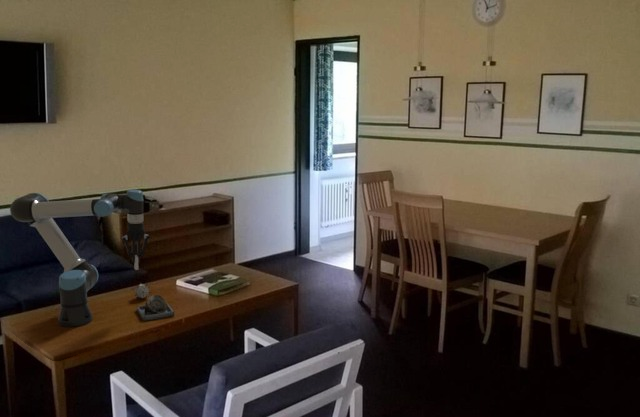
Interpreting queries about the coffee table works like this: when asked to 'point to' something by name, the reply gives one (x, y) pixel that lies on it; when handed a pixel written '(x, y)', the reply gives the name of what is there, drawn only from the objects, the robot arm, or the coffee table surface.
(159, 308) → the fossil
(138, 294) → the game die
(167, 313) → the tray
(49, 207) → the robot arm
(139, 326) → the coffee table surface
